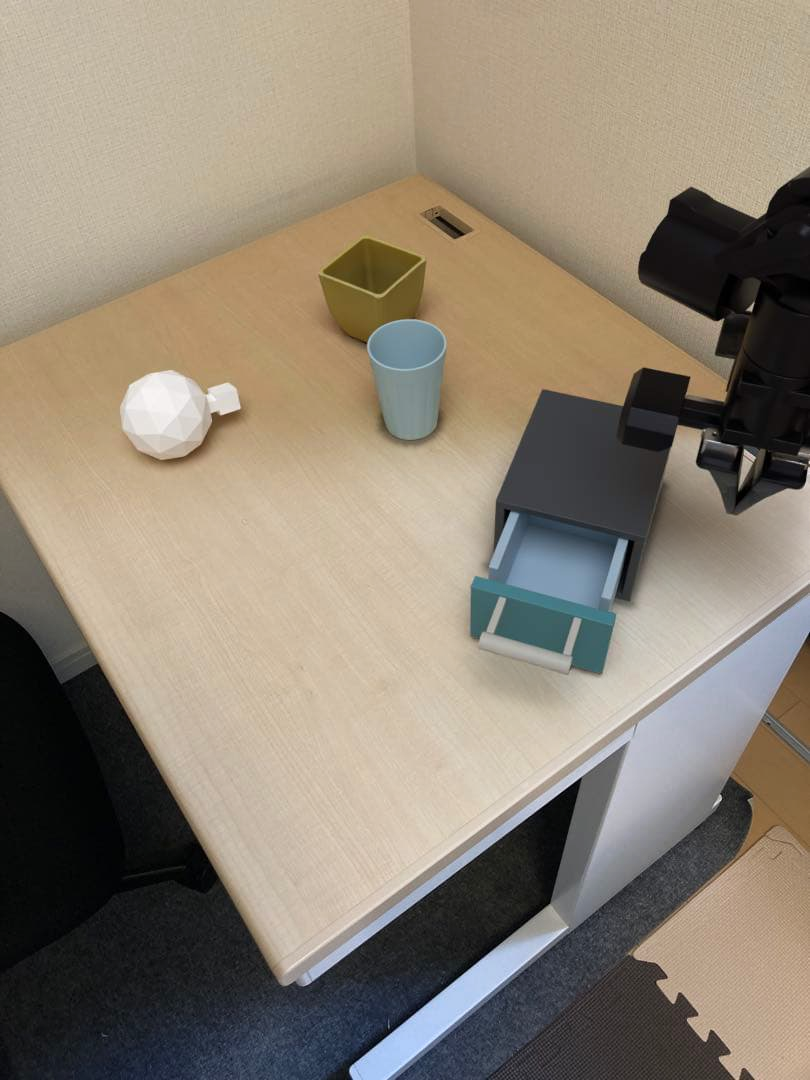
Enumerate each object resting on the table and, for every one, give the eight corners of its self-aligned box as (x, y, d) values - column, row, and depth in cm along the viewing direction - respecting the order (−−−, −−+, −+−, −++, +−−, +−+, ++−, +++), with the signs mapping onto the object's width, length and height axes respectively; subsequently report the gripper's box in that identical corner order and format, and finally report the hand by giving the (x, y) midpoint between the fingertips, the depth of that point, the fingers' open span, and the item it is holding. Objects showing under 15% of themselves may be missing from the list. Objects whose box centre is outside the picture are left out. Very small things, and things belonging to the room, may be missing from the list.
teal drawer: (587, 725, 72) (598, 677, 66) (451, 683, 75) (450, 634, 69) (636, 551, 82) (649, 497, 77) (514, 521, 85) (518, 466, 80)
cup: (460, 408, 96) (459, 329, 88) (429, 456, 92) (425, 378, 84) (396, 389, 99) (390, 311, 91) (363, 435, 95) (353, 357, 87)
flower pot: (370, 299, 109) (364, 232, 102) (430, 323, 106) (428, 255, 99) (325, 339, 105) (315, 272, 98) (386, 365, 102) (380, 298, 95)
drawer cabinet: (629, 601, 80) (645, 537, 73) (492, 565, 83) (495, 500, 76) (661, 484, 88) (678, 417, 81) (536, 455, 92) (542, 388, 85)
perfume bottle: (148, 485, 89) (259, 445, 94) (122, 399, 84) (241, 362, 89) (122, 455, 96) (227, 420, 101) (97, 374, 91) (208, 341, 96)
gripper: (952, 299, 59) (869, 464, 71) (664, 252, 64) (632, 414, 76) (951, 412, 53) (859, 572, 65) (631, 350, 58) (601, 510, 70)
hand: (732, 510), depth 69 cm, fingers closed
